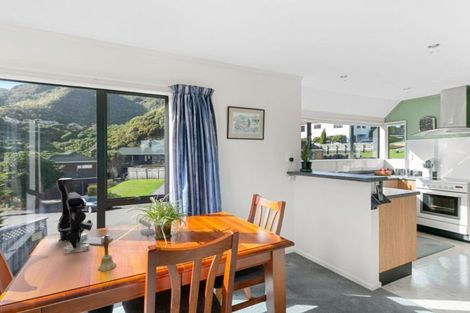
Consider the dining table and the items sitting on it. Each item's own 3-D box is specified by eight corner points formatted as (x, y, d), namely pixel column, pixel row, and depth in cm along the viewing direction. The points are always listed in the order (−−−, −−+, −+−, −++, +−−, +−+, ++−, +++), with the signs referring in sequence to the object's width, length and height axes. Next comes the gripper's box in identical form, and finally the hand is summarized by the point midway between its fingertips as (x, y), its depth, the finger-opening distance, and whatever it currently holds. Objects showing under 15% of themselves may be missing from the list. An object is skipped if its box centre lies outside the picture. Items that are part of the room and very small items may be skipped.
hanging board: (74, 243, 167) (74, 237, 167) (86, 238, 177) (86, 232, 176) (102, 245, 163) (101, 239, 163) (112, 239, 173) (112, 233, 173)
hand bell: (95, 267, 135) (94, 235, 134) (112, 262, 141) (111, 231, 140) (101, 272, 129) (99, 240, 128) (118, 267, 135) (117, 235, 134)
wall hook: (142, 216, 191) (155, 217, 189) (142, 230, 191) (155, 230, 189) (135, 220, 182) (149, 220, 180) (136, 234, 183) (149, 235, 181)
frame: (64, 254, 153) (64, 248, 152) (66, 251, 156) (66, 246, 156) (88, 251, 156) (87, 245, 156) (89, 248, 160) (89, 243, 160)
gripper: (88, 221, 149) (89, 249, 150) (93, 213, 167) (95, 238, 168) (65, 223, 145) (66, 252, 146) (73, 215, 163) (74, 240, 164)
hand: (76, 245), depth 156 cm, fingers open, 9 cm apart
